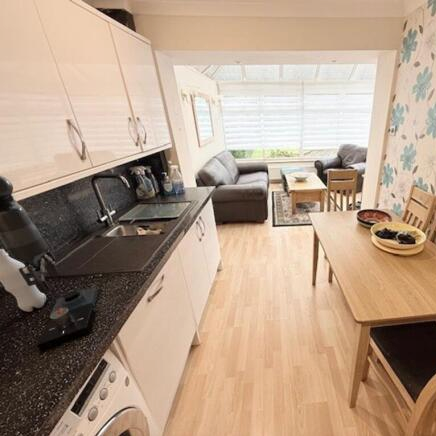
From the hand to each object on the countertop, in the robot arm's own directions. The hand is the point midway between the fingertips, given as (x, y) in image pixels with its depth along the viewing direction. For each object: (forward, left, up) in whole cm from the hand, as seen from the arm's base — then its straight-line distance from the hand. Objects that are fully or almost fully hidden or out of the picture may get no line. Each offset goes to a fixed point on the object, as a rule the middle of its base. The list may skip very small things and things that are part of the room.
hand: (51, 283), depth 76 cm
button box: (-1, +8, -16) cm, 18 cm away
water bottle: (-15, +16, -16) cm, 27 cm away
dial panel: (0, -6, -16) cm, 17 cm away
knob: (0, -6, -13) cm, 14 cm away
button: (-1, +8, -13) cm, 15 cm away
